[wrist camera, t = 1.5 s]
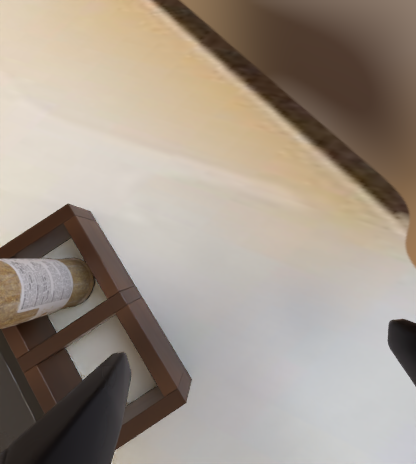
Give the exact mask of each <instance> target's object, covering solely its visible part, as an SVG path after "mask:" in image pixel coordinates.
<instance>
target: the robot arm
mask: <svg viewBox="0 0 416 464" xmlns="http://www.w3.org/2000/svg"><path fill="white" fill-rule="evenodd" d="M388 345H389V347H390V349H391V351H392V352H393V354H394V355H395V356H396V358H397V359H398V361H399V362H400V364H401V365H402V367H403V368H404V370H405V371H406V373H407V374H408V376H409V377H410V379H411V380H412V382H413V383H414V385H415V386H416V323H413V322H411V321H408V320H405V319H397V320H391V321H390V322H389V328H388ZM130 381H131V369H130V366H129V362H128V359H127V355H126V354H125V353H124V352H122V353H114V354H112V355H111V356H110V357H109V358H107V359H106V360H105V361H104V362H103V363H102V364H101V365H100V366H98V367H97V368H96V369H95V370H94V371H93V372H92V373H91V374H89V375H88V376H87V377H86V378H85V379H84V380H83V381H82V382H80V383H79V384H78V385H77V386H76V387H75V388H74V389H73V390H71V391H70V392H69V393H68V394H67V395H66V396H65V397H64V398H62V399H61V400H60V401H59V402H58V403H57V404H56V405H55V406H53V407H52V408H51V409H50V410H49V411H48V412H47V413H46V414H44V415H43V416H42V417H41V418H40V419H39V420H38V421H37V422H35V423H34V424H33V425H32V426H31V427H30V428H29V429H27V430H26V431H25V432H24V433H23V434H22V435H21V436H20V437H18V438H17V439H16V440H15V441H14V442H13V443H12V444H11V445H10V446H9V447H8V449H5V450H4V451H3V452H1V453H0V464H111V462H112V458H113V455H114V451H115V448H116V445H117V441H118V438H119V434H120V430H121V426H122V422H123V417H124V412H125V407H126V402H127V397H128V391H129V386H130Z"/></svg>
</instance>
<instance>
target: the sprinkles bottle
mask: <svg viewBox="0 0 416 464" xmlns="http://www.w3.org/2000/svg"><path fill="white" fill-rule="evenodd" d="M93 285H94V280H93V273H92V272H91V270H90V268H89V267H88V265H87V264H86V263H85V262H84V261H82V260H80V259H77V258H65V259H58V260H57V259H48V258H34V259H0V329H2V328H7V327H10V326H14V325H17V324H19V323H23V322H26V321H29V320H32V319H35V318H39V317H42V316H45V315H48V314H51V313H54V312H56V311H58V310H60V309H63V308H66V307H73V306H76V305H78V304H81V303H82V302H84V301H85V300H86V299H87V298H88V296H89V294H90V293H91V291H92V288H93Z"/></svg>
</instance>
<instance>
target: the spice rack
mask: <svg viewBox="0 0 416 464" xmlns="http://www.w3.org/2000/svg"><path fill="white" fill-rule="evenodd" d="M71 237H72V239H73V241H74V243H75V244H76V246H77V248H78V249H79V251H80V253H81V255H82V256H83V258H84V260H85V261H86V263H87V265H88V267H89V268H90V270H91V272H92V273H93V275H94V277H95V279H96V280H97V282H98V284H99V285H100V287H101V289H102V291H103V292H104V294H105V296H106V297H107V299H108V300H106V301H105V302H103V303H102V304H100V305H98V306H97V307H95V308H94V309H92V310H91V311H89V312H88V313H86V314H85V315H83V316H82V317H80V318H79V319H77V320H76V321H74V322H73V323H71V324H70V325H68V326H67V327H65V328H64V329H62V330H61V331H59V332H58V333H56V332H55V330H54V328H53V326H52V324H51V322H50V321H49V319H48V317H47V315H45V316H42V317H39V318H35V319H32V320H29V321H26V322H23V323H19V324H17V325H14V326H10V327H7V328H2V329H1V330H2V332H3V334H4V336H5V338H6V340H7V342H8V344H9V346H10V348H11V350H12V352H13V353H14V355H15V357H16V359H17V361H18V363H19V365H20V367H21V369H22V371H23V372H24V375H25V377H26V379H27V381H28V383H29V385H30V387H31V389H32V391H33V392H34V394H35V396H36V398H37V400H38V402H39V404H40V406H41V408H42V410H43V412H44V414H46V413H47V412H48V411H49V410H50V409H51V408H52V407H53V406H55V405H56V404H57V403H58V402H59V401H60V400H61V399H62V398H64V397H65V396H66V395H67V394H68V393H69V392H70V391H71V390H73V389H74V388H75V387H76V386H77V385H78V384H79V383H80V382H82V379H81V377H80V375H79V373H78V372H77V370H76V368H75V366H74V364H73V362H72V361H71V359H70V357H69V355H68V353H67V351H66V350H65V349H64V348H66V347H67V346H69V345H70V344H72V343H73V342H75V341H76V340H78V339H80V338H81V337H83V336H84V335H86V334H87V333H89V332H90V331H92V330H93V329H95V328H96V327H98V326H99V325H101V324H102V323H104V322H105V321H107V320H108V319H110V318H111V317H113V316H114V315H117V317H118V318H119V320H120V322H121V324H122V325H123V327H124V329H125V330H126V332H127V334H128V336H129V337H130V339H131V341H132V342H133V344H134V346H135V348H136V349H137V351H138V353H139V354H140V356H141V358H142V360H143V361H144V363H145V365H146V366H147V368H148V370H149V372H150V373H151V375H152V377H153V378H154V380H155V382H156V384H157V386H156V387H154V388H153V389H151V390H150V391H148V392H147V393H145V394H144V395H142V396H141V397H139V398H138V399H136V400H135V401H133V402H132V403H130V404H129V405H127V406H126V407H125V412H124V417H123V422H122V426H121V430H120V434H119V438H118V441H117V445H116V448H115V450H116V449H118V448H119V447H121V446H122V445H124V444H125V443H127V442H128V441H130V440H131V439H133V438H134V437H136V436H137V435H139V434H140V433H142V432H143V431H145V430H146V429H148V428H149V427H151V426H152V425H154V424H155V423H157V422H158V421H160V420H161V419H163V418H164V417H166V416H167V415H169V414H170V413H172V412H173V411H175V410H176V409H178V408H179V407H181V406H182V405H184V404H185V403H186V402H187V397H188V393H189V389H190V385H191V381H192V379H191V377H190V376H189V374H188V372H187V371H186V369H185V368H184V366H183V364H182V362H181V361H180V359H179V357H178V356H177V354H176V352H175V351H174V349H173V347H172V346H171V344H170V342H169V341H168V339H167V337H166V336H165V334H164V332H163V331H162V329H161V327H160V326H159V324H158V322H157V321H156V319H155V318H154V316H153V314H152V313H151V311H150V309H149V308H148V306H147V304H146V303H145V301H144V299H143V298H141V297H142V296H141V295H140V293H139V291H138V290H137V288H136V287H135V285H134V283H133V281H132V280H131V278H130V276H129V275H128V273H127V271H126V270H125V268H124V266H123V265H122V263H121V261H120V260H119V258H118V256H117V255H116V253H115V251H114V250H113V248H112V246H111V245H110V243H109V241H108V240H107V238H106V237H105V235H104V233H103V232H102V230H101V228H100V227H99V225H98V223H97V222H96V220H95V218H94V217H93V215H92V213H91V212H90V211H88V210H85V209H82V208H79V207H76V206H73V205H71V204H67V205H65V206H64V207H62V208H61V209H59V210H57V211H56V212H54V213H53V214H51V215H50V216H48V217H47V218H45V219H44V220H42V221H41V222H39V223H38V224H36V225H34V226H33V227H31V228H30V229H28V230H27V231H25V232H24V233H22V234H21V235H19V236H18V237H16V238H15V239H13V240H11V241H10V242H8V243H7V244H5V245H4V246H2V247H1V248H0V259H34V258H41V257H42V256H44V255H45V254H47V253H48V252H50V251H51V250H53V249H54V248H56V247H58V246H59V245H61V244H62V243H64V242H65V241H67V240H68V239H70V238H71Z"/></svg>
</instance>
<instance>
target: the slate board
mask: <svg viewBox="0 0 416 464" xmlns="http://www.w3.org/2000/svg"><path fill="white" fill-rule="evenodd" d="M43 415H44V412H43V410H42V408H41V406H40V404H39V402H38V400H37V398H36V396H35V394H34V392H33V391H32V389H31V387H30V385H29V383H28V381H27V379H26V377H25V375H24V372H23V371H22V369H21V367H20V365H19V363H18V361H17V359H16V357H15V355H14V353H13V352H12V350H11V348H10V346H9V344H8V342H7V340H6V338H5V336H4V334H3V332H2V330H1V329H0V453H1V452H3V451H4V450H5V449H8V447H9V446H10V445H11V444H12V443H13V442H14V441H15V440H16V439H17V438H18V437H20V436H21V435H22V434H23V433H24V432H25V431H26V430H27V429H29V428H30V427H31V426H32V425H33V424H34V423H35V422H37V421H38V420H39V419H40V418H41V417H42V416H43Z"/></svg>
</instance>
